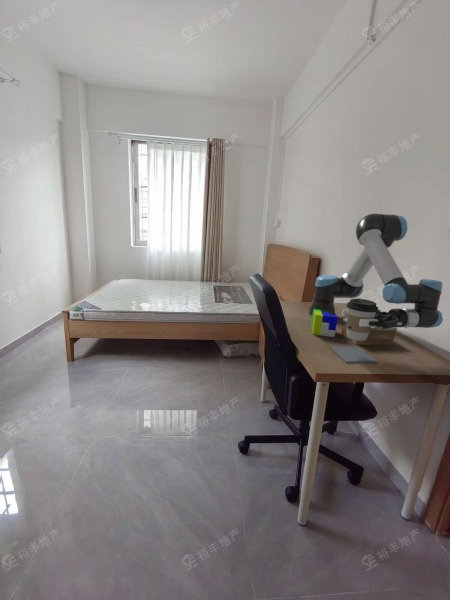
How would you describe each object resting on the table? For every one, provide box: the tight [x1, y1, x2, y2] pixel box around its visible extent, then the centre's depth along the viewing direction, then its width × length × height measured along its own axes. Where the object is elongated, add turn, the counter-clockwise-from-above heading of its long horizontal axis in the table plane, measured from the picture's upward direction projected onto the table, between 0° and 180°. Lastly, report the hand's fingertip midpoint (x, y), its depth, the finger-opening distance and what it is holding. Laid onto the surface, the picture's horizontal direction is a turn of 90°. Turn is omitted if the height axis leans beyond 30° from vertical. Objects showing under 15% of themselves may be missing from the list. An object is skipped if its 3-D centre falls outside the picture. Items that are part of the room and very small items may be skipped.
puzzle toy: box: [310, 309, 339, 338], centre depth 135 cm, size 10×10×10 cm
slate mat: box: [329, 346, 378, 364], centre depth 112 cm, size 13×13×1 cm
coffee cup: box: [345, 298, 379, 341], centre depth 108 cm, size 11×11×15 cm
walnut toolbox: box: [340, 316, 398, 346], centre depth 129 cm, size 13×19×12 cm
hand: (350, 317), depth 107 cm, fingers closed on coffee cup, 11 cm apart
